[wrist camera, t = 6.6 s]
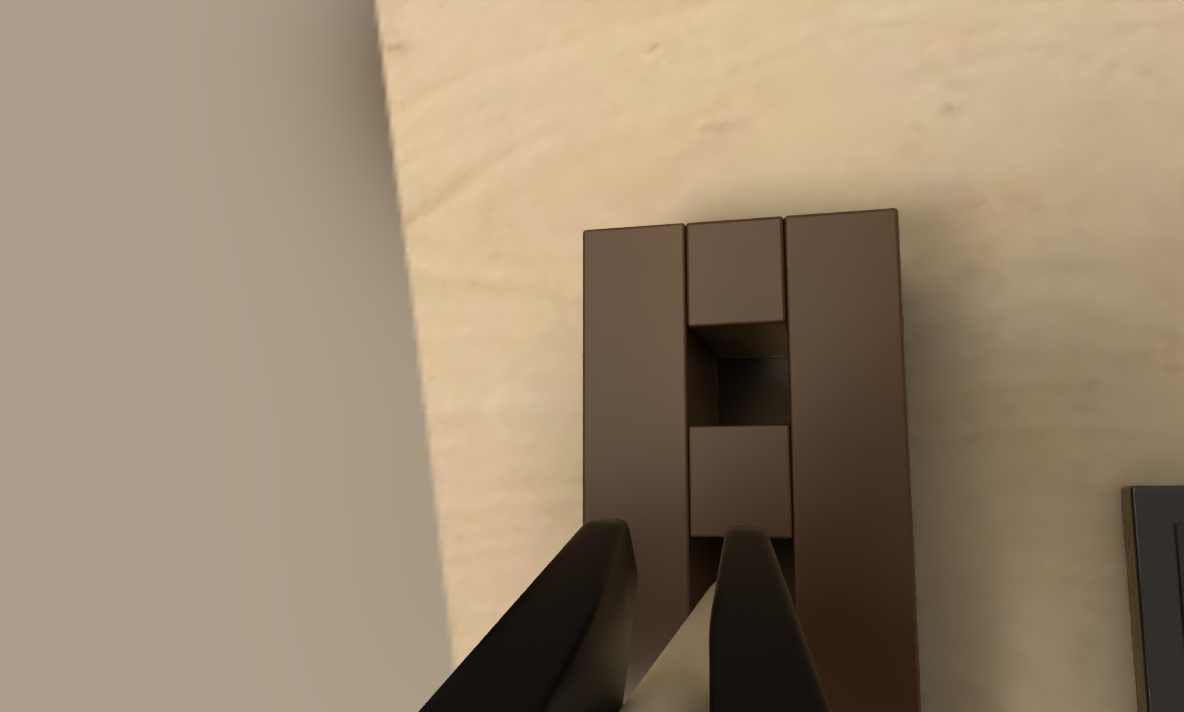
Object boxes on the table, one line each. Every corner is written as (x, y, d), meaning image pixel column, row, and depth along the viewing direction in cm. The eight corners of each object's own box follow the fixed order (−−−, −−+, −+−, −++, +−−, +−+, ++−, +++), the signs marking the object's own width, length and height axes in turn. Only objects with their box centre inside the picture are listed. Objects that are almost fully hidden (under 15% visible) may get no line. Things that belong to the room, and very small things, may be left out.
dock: (886, 264, 23) (898, 206, 18) (915, 907, 21) (936, 1032, 16) (632, 278, 25) (582, 229, 20) (636, 877, 23) (581, 982, 18)
